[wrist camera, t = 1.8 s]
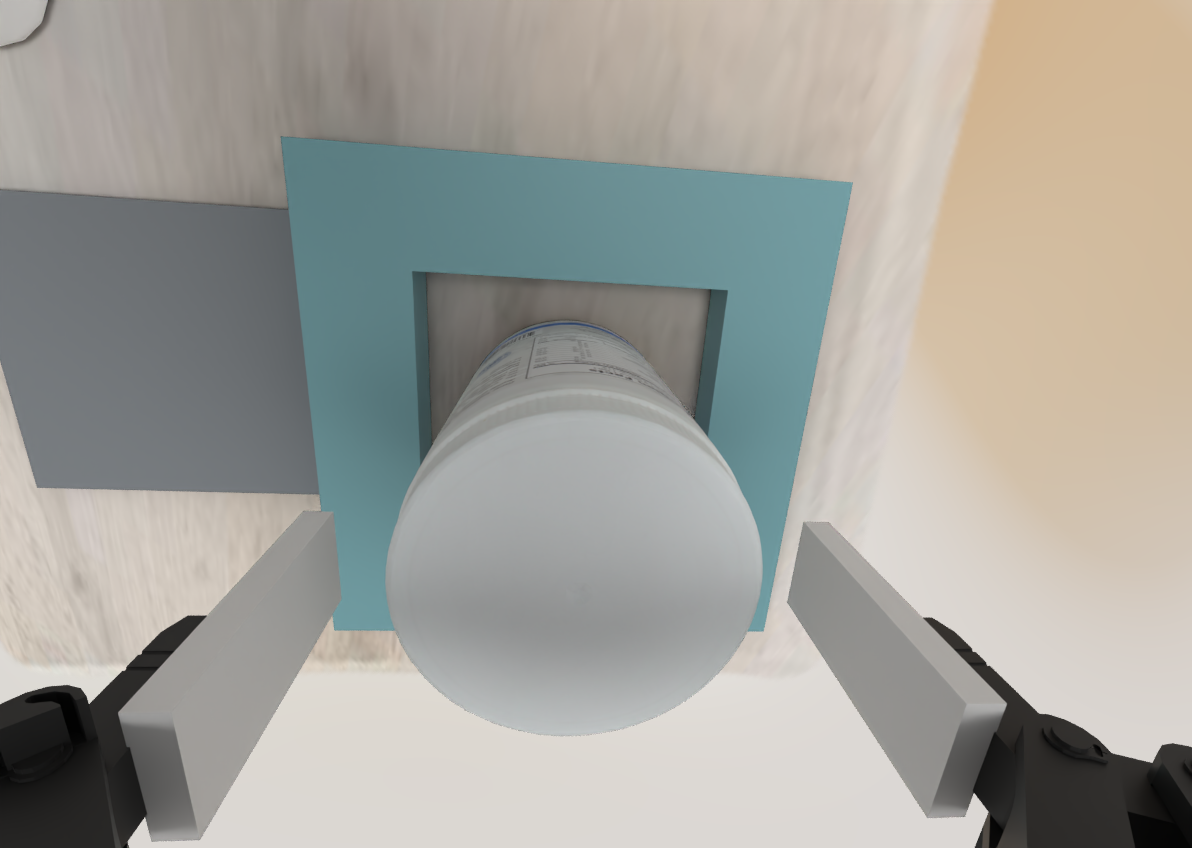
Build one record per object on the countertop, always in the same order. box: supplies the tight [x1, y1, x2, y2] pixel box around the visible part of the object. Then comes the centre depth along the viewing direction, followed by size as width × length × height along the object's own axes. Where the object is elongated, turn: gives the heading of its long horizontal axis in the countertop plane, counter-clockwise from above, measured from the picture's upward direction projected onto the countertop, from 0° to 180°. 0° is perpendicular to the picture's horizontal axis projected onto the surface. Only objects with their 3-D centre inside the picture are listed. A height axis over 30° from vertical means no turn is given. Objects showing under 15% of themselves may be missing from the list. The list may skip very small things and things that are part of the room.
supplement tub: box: [385, 320, 763, 736], centre depth 20 cm, size 10×10×15 cm
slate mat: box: [0, 190, 319, 494], centre depth 24 cm, size 13×13×1 cm
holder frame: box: [281, 136, 853, 631], centre depth 26 cm, size 22×22×2 cm
